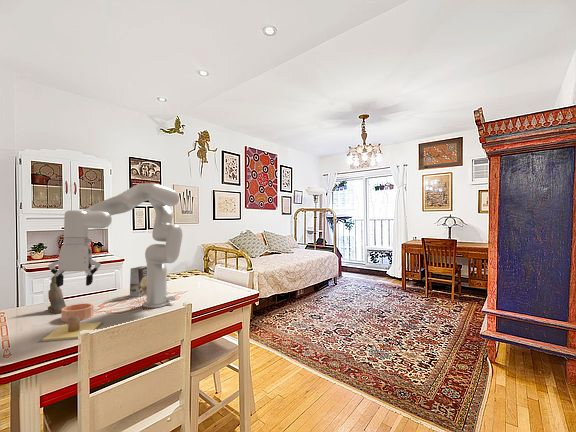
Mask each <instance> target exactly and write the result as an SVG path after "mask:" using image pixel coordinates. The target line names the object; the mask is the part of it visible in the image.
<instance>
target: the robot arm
mask: <svg viewBox="0 0 576 432" xmlns="http://www.w3.org/2000/svg"><path fill="white" fill-rule="evenodd" d="M147 201H148V202H149V203H150V205H151V206H152V208H153V209H154V212H155V217H154V224H153V227H152V239H153V240H154V241H157V242H163V243H153V244H151V245H149V246H148V247H146V249H145V253H144V255H145V264H146V266H147V294H146V301H144V302H143V303H142V307H144V308H149V309H150V308H151V309H153V308H154V309H155V308H160V307H165V306H167V305H169V304H170V301H176V296H174V295H169V294H168V292H167V289H168V286H167V283H168V280H167V278H168V269H167V265H166V264H173V263H175V262H176V261H177V260H178V259H179V256H180V251H181V246H182V242H183V229H182V228H181V227H180V225H178V224H175V223H173V217H174V216H173V215H174V214H173V211H172V209H171V207H174V206H176V205H178V203H179V202H180V196H179V194H178V192H177V191H176V190H174V189H172V188H169V187H166V186H163V185H161V184H158V183H154V182H148V183H147V182H145V183H138V184H135V185H134V186H131V187H130V188H128V189H127V190H124V191H123V192H121V193H119V194H117V195H115V196H112V197H110V198H107V199H105V200H102V201H100V202H97V203H95V204H92V205H91V206H89V207H87V208H85V209H83V210H74V209H73V210H66V211H65V212H64V221H63V245H61V247H60V250H59V255H58V260H57V261H54V262H51V263H50V264H48V265H47V266H48V268H49V270H50V272H51V274H53V276H56V284H57V287H61V286H63V285H64V275H63V273H65V272H85V273H86V274H87V275H86V278H85V286H86V287H88V286H90V285H92V283H93V280H94V274H95V273H96V272H97V271H99V268H100V267H101V265H102V263H100V262H99V261H96V260H94V259H93V255H92V247H91V244H90V243H92V238H89V235H88V234H89V229H95V230H97V229H98V230H100V229H106V228H107V227H109V226H110V225H111V224H112V222H113V219H112V216H114V215H119V214H125V213H127V212H130V211H131V210H133V209H135V208H136V207H138V206H139V205H141V204H142V203H145V202H147ZM164 243H165V244H164ZM56 266H57V268H58V269H57V268H56ZM93 266H94V267H93ZM92 267H93V268H92Z"/></svg>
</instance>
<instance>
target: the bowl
mask: <svg viewBox="0 0 576 432" xmlns="http://www.w3.org/2000/svg"><path fill="white" fill-rule="evenodd" d="M60 316H61V317H60V320H61V322H64V323H68V318H69V317H72V316H80V321H84V320H87V319H89V318H92V317H93V316H94V304H93V303H90V302H89V303H88V302H87V303H86V302H84V303H83V302H82V303H75V304H70V305H66V307H64V308H62V309H61V313H60Z"/></svg>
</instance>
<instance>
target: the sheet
mask: <svg viewBox="0 0 576 432" xmlns="http://www.w3.org/2000/svg"><path fill="white" fill-rule="evenodd" d="M80 321H81V320H80V316H72V317H69V318H68V322H67V324H62V325H60V326H58V327H59V328H58V327H57V328H56V330H55V329H54V330H55V331H54V330H53V331H51V332H52V333H51V332H50V333H48V334H49V335H48V334H47V335H48V336H47V335H46V336H44V337H45V338H44V337H43V338H42V341H51V340H62V339H74V338H78V333H79V332H80V331H82V330H95V329H96V328H97V327H98V326H99V325H100V324H101V323H102V322H101V321H100V322H99V321H97V322H85V323H80Z"/></svg>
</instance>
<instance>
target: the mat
mask: <svg viewBox="0 0 576 432" xmlns="http://www.w3.org/2000/svg"><path fill="white" fill-rule="evenodd" d="M104 324H105V322H101V324H100V325H99V326H98V327H97V328H96V329H98V330H99V329H100V328H101V327H103V325H104ZM59 327H60V326H58V327H57V328H59ZM57 328H56V329H57ZM56 329H54V330H53V331H55V330H56ZM53 331H51V332H50V333H52V332H53ZM50 333H48V334H47V335H46V336H48V335H49V334H50ZM46 336H44V337H43V338H45V337H46ZM43 338H42V339H43ZM42 339H40V340H38V341H37V342H36V344H39V343H49V342H50V343H52V342H62V341H73V340H79V339H78V338H74V339H62V340H51V341H42Z"/></svg>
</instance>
